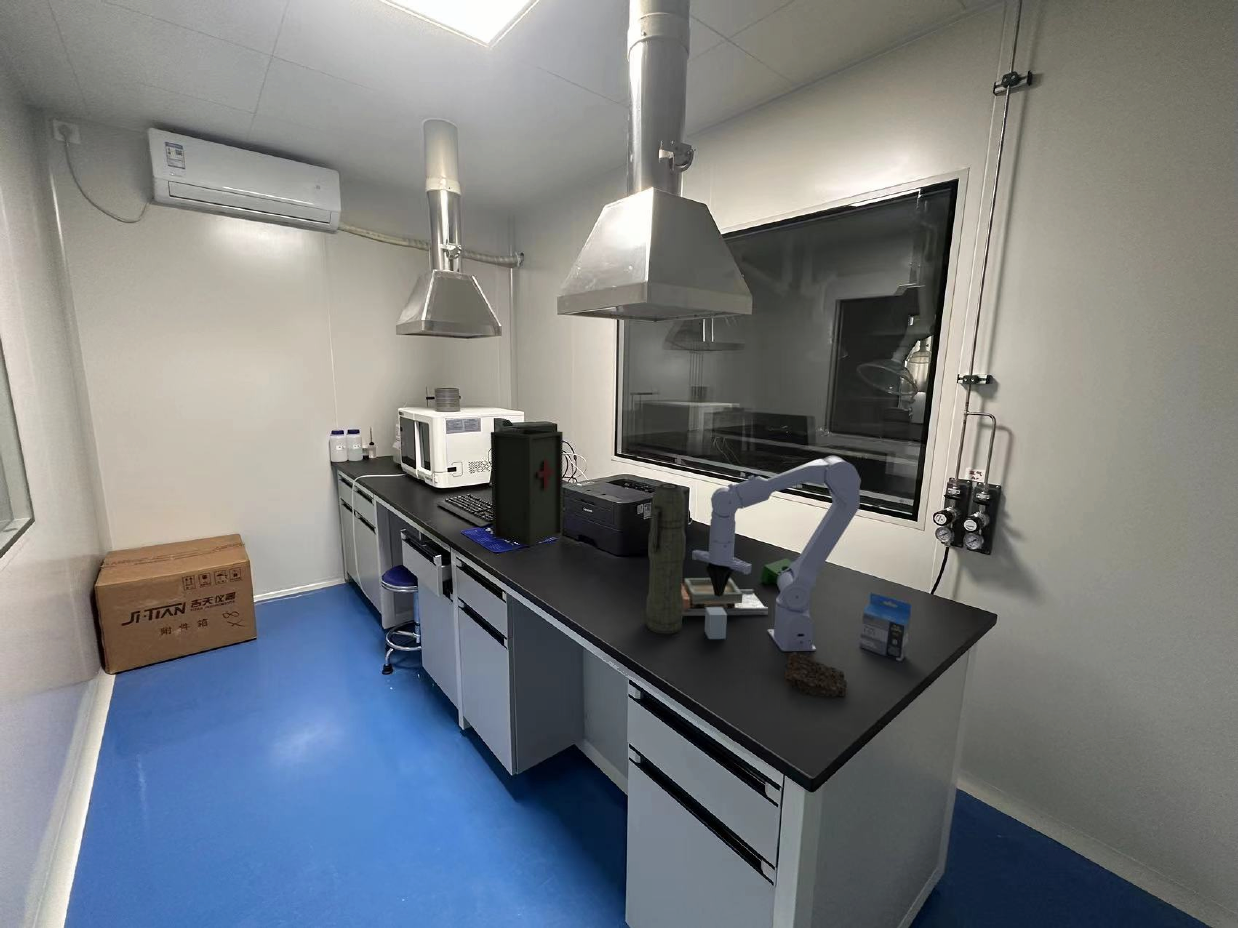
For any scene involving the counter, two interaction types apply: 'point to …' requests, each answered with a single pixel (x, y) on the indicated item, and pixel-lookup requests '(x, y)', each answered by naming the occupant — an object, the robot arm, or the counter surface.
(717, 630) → the block
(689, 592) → the shallow open tray
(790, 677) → the brown porous oval lump
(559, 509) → the first aid box
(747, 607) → the rail
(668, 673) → the counter surface
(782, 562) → the clamp
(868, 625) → the label tape box
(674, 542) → the thermos
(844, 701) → the counter surface
